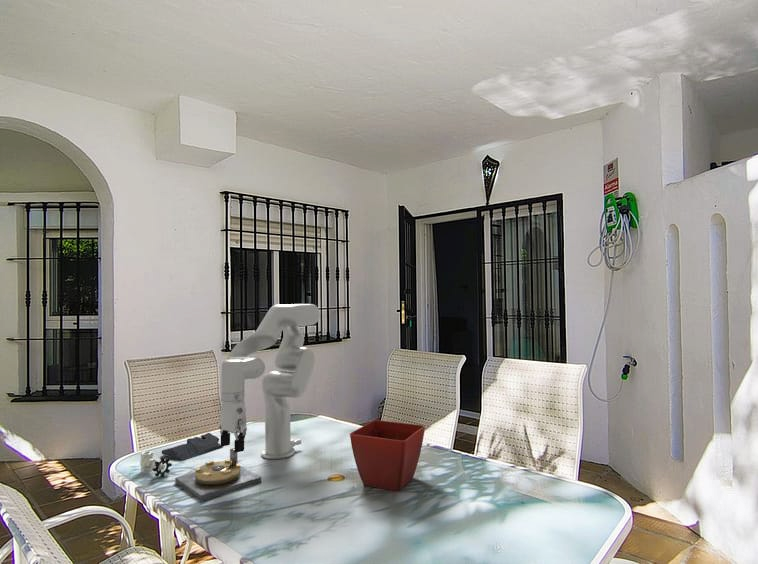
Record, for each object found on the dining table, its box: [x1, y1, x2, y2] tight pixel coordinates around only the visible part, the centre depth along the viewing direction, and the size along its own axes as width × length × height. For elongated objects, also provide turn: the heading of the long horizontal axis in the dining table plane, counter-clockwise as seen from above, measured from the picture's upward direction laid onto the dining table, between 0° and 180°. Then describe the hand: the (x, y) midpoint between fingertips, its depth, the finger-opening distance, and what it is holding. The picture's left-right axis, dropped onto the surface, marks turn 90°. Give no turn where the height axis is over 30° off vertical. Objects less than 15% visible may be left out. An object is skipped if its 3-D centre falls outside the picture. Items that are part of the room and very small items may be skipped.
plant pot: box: [349, 419, 426, 492], centre depth 156 cm, size 19×19×17 cm
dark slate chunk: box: [161, 432, 224, 462], centre depth 191 cm, size 15×22×5 cm
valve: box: [139, 450, 173, 478], centre depth 167 cm, size 7×7×12 cm
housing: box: [174, 465, 262, 502], centre depth 158 cm, size 20×20×3 cm
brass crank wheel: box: [194, 447, 241, 485], centre depth 158 cm, size 14×14×8 cm
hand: (232, 448), depth 161 cm, fingers open, 9 cm apart
